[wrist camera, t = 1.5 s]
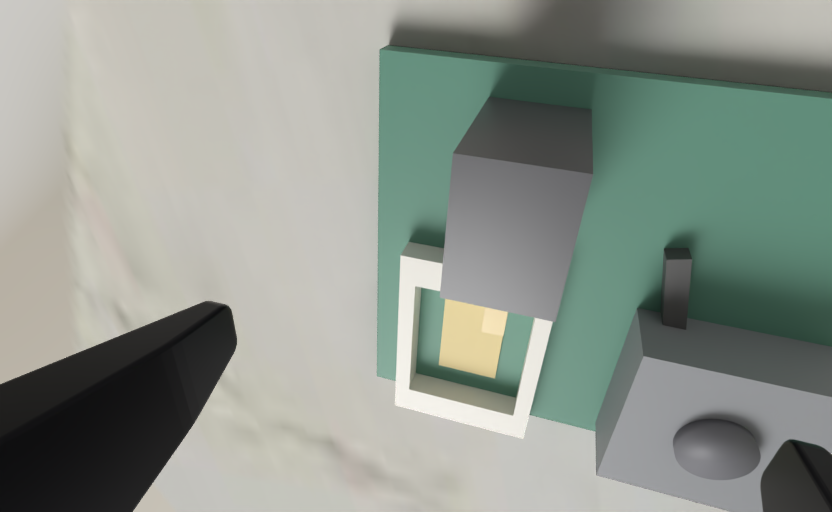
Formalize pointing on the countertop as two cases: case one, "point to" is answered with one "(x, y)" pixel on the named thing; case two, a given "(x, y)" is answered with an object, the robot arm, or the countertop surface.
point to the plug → (516, 208)
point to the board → (626, 271)
